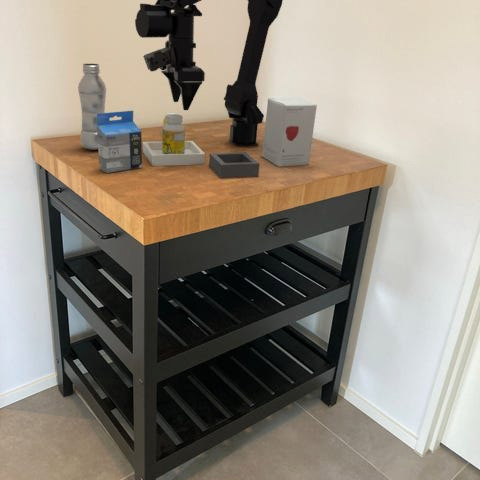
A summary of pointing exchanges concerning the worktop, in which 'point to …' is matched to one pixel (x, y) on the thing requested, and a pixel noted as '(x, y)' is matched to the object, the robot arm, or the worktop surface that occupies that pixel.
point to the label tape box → (118, 142)
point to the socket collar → (233, 165)
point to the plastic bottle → (91, 104)
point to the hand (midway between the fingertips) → (180, 105)
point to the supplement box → (288, 131)
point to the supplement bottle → (173, 135)
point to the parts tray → (173, 155)
